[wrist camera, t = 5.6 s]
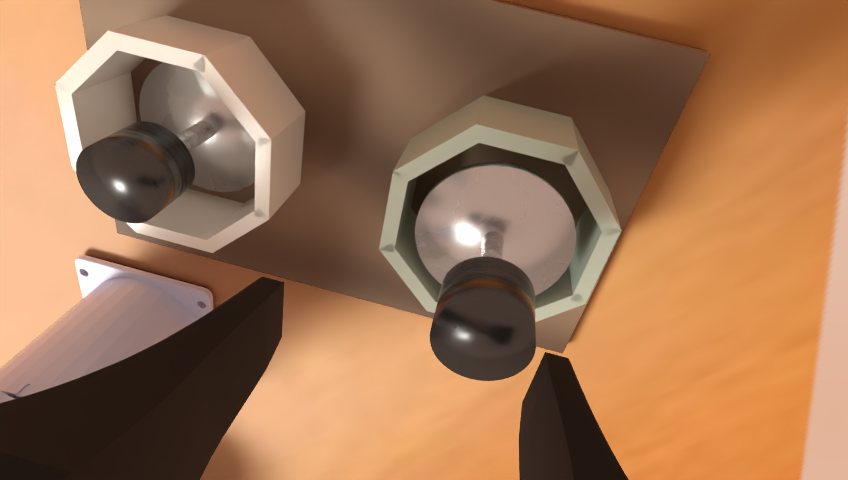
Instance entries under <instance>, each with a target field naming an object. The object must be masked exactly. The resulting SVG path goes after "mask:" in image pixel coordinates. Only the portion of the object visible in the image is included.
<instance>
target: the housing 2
mask: <svg viewBox="0 0 848 480" xmlns="http://www.w3.org/2000/svg"><path fill="white" fill-rule="evenodd" d="M477 143H482V144H486V145H490V146H494V147H498V148H502V149H506V150H510V151H513V152H517V153H521V154H525V155H529V156H533V157H537V158H541V159H545V160H549V161H553V162H556V163H560V164H564V165H565V166H566V168H567V169H568V171H569V173H570V175H571V177H572V178H573V180H574V182H575V184H576V186H577V188H578V189H579V191H580V193H581V195H582V197H583V198H584V200H585V202H586V206H585V208H584V211H583V213H582V215H581V217H580V220H579V222H578V224H577V227H576V229H575V230H576V245H575V250H574V254H573V257H572V260H571V262H570V264H569V266H568V268H567V269H566V271H565V272H564V273H563V275H562V276H561V277H560V278H559V279H558V280H557V281H556V282H555V283H554V284H553V285H552V286H550V287H549V288H548V289H546V290H545V291H543V292H541V293H540V294H538V295H535V322H537V321H540V320H543V319H545V318H548V317H551V316H554V315H556V314H559V313H562V312H565V311H567V310H570V309H573V308H576V307H579V306H581V305H584V304H586V302H587V300H588V298H589V296H590V294H591V292H592V290H593V288H594V286H595V284H596V281H597V279H598V277H599V275H600V273H601V271H602V269H603V267H604V265H605V263H606V261H607V259H608V257H609V255H610V253H611V251H612V249H613V247H614V245H615V243H616V241H617V239H618V237H619V235H620V233H621V231H622V230H621V227H620V224H619V220H618V217H617V214H616V211H615V207H614V204H613V201H612V197H611V194H610V191H609V188H608V187H607V185H606V183H605V181H604V179H603V177H602V175H601V173H600V171H599V169H598V167H597V166H596V164H595V162H594V160H593V158H592V156H591V154H590V152H589V150H588V148H587V147H586V145H585V143H584V141H583V139H582V137H581V135H580V133H579V131H578V129H577V127H576V126H575V124H574V122H573V120H572V118H571V117H568V116H564V115H560V114H556V113H552V112H548V111H544V110H540V109H536V108H532V107H528V106H524V105H520V104H516V103H512V102H508V101H504V100H500V99H496V98H492V97H488V96H484V95H483V96H482V97H480V98H478V99H477V100H475V101H473V102H471V103H470V104H468V105H466V106H465V107H463V108H461V109H460V110H458V111H456V112H455V113H453V114H451V115H449V116H448V117H446V118H444V119H443V120H441V121H439V122H438V123H436V124H434V125H433V126H431V127H429V128H427V129H426V130H424V131H422V132H421V133H419V134H417V135H416V136H414V137H412V138H411V139H410V141H409V143H408V145H407V146H406V148H405V150H404V152H403V154H402V156H401V157H400V159H399V161H398V163H397V165H396V167H395V168H394V170H393V174H392V180H391V185H390V191H389V196H388V202H387V208H386V213H385V219H384V224H383V230H382V235H381V241H380V246H379V250H380V251H381V252H382V254H383V255H384V256H385V258H386V259H387V260H388V261H389V263H390V264H391V265H392V267H393V268H394V269H395V271H396V272H397V273H398V274H399V276H400V277H401V278H402V280H403V281H404V282H405V284H406V285H407V286H408V287H409V289H410V290H411V291H412V293H413V294H414V295H415V297H416V298H417V299H418V300H419V302H420V303H421V304H422V306H423V307H424V308H425V309H426V311H429V312H433V313H435V310H436V306H437V302H438V298H439V293H440V289H441V285H442V284H440V283H439V282H438V281H437V280H436V279H435V278H434V277H433V276H432V275H431V274H430V272H429V271H428V270H427V268H426V267H425V265H424V264H423V262H422V260H421V258H420V256H419V253H418V250H417V247H416V241H415V225H416V219H417V215H416V214H415V213H414V211H413V210H412V208H411V206H412V201H413V196H414V191H415V187H416V182H417V177H418V176H419V175H421V174H423V173H425V172H426V171H428V170H430V169H432V168H434V167H435V166H437V165H439V164H441V163H443V162H445V161H446V160H448V159H450V158H452V157H454V156H455V155H457V154H459V153H461V152H463V151H465V150H466V149H468V148H470V147H472V146H474V145H476V144H477Z"/></svg>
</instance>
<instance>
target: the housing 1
mask: <svg viewBox="0 0 848 480" xmlns="http://www.w3.org/2000/svg"><path fill="white" fill-rule="evenodd" d="M145 58H150V59H153V60H157V61H161V62H165V63H169V64H173V65H177V66H181V67H185V68H189V69H193V70H196V71H199V72H200V74H201V75H202V76H203V77H204V79H205V80H206V81H207V82H208V84H209V85H210V86H211V87H212V89H213V90H214V91H215V92H216V94H217V95H218V96H219V97H220V99H221V100H222V101H223V102H224V104H225V105H226V106H227V107H228V108H229V110H230V111H231V112H232V113H233V115H234V116H235V117H236V118H237V120H238V121H239V122H240V123H241V125H242V126H243V127H244V128H245V130H246V131H247V132H248V133H249V135H250V136H251V137H252V138H253V140H254V141H255V142H256V143H255V197H253V198H252V199H250V200H248V201H247V202H245V203H241V202H237V201H233V200H229V199H226V198H222V197H218V196H214V195H211V194H207V193H203V192H199V191H195V190H192V189H188V190H187V191H186V192H185V193H183V194H182V195H181V196H179V197H178V198H177V199H176V200H174V201H173V202H172V203H171V204H169V205H168V206H167V207H165V208H164V209H163V210H162V211H160V212H159V213H158V214H157V215H155V216H154V217H153V218H151V219H150V220H148V221H146V222H143V223H127V224H128V225H129V226H130V227H131V228H132V229H133V230H134V231H135V232H136V233H140V234H143V235H147V236H151V237H154V238H158V239H162V240H166V241H169V242H173V243H177V244H180V245H184V246H188V247H192V248H195V249H199V250H203V251H206V252H210V253H214V252H215V251H217V250H219V249H220V248H222V247H224V246H225V245H227V244H229V243H230V242H232V241H234V240H236V239H237V238H239V237H241V236H242V235H244V234H246V233H247V232H249V231H251V230H252V229H254V228H256V227H257V226H259V225H261V224H262V223H264V222H266V221H268V220H269V219H270V218H271V217H272V216H273V215H274V213H275V212H276V211H277V210H278V209H279V208H280V206H281V205H282V204H283V203H284V202H285V201H286V200H287V198H288V197H289V196H290V195H291V194H292V193H293V192H294V190H295V189H296V188H297V187H298V186H299V185H300V184H301V183H300V182H301V167H302V153H303V139H304V124H305V110H304V108H303V107H302V106H301V104H300V103H299V102H298V100H297V99H296V98H295V96H294V95H293V94H292V92H291V91H290V90H289V88H288V87H287V86H286V84H285V83H284V82H283V80H282V79H281V78H280V76H279V75H278V73H277V72H276V71H275V69H274V68H273V67H272V65H271V64H270V63H269V61H268V60H267V59H266V57H265V56H264V55H263V53H262V52H261V51H260V49H259V48H258V47H257V45H256V44H255V43H254V41H253V40H252V38H251V37H250V36H246V35H242V34H238V33H234V32H230V31H226V30H222V29H218V28H214V27H210V26H206V25H202V24H198V23H194V22H190V21H186V20H183V19H179V18H175V17H171V16H167V15H166V16H162V17H159V18H155V19H151V20H147V21H143V22H139V23H135V24H131V25H127V26H123V27H119V28H116V29H112V30H108V31H107V32H106V33H105V34H104V35H103V36H102V37H101V38H100V39H99V40H98V41H97V42H96V43H95V44H94V45H93V46H92V47H91V48H90V49H89V50H88V51H87V52H86V53H85V54H84V55H83V56H82V57H81V58H80V59H79V60H78V61H77V62H76V63H75V64H74V65H73V66H72V67H71V68H70V69H69V70H68V71H67V72H66V73H65V74H64V75H63V76H62V77H61V78H60V79H59V80H58V81H57V82H56V83H55V86H56V91H57V96H58V101H59V106H60V111H61V116H62V121H63V125H64V130H65V135H66V140H67V145H68V150H69V155H70V159H71V164H72V168H73V169H74V170H75V171H76V162H77V158H78V156H79V154H80V152H81V151H82V150H83V149H84V148H86V147H87V146H89V145H91V144H93V143H95V142H97V141H99V140H101V139H103V138H105V137H107V136H109V135H111V134H113V133H115V132H117V131H119V130H121V129H123V128H125V127H127V126H129V125H131V124H133V123H136V122H137V119H136V110H135V102H134V94H133V86H132V77H131V71H132V70H133V69H135V68H136V67H137V66H138V65H139V64H140V63H141V62H142V61H143V60H144V59H145Z"/></svg>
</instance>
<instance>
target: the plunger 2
mask: <svg viewBox="0 0 848 480" xmlns="http://www.w3.org/2000/svg"><path fill="white" fill-rule="evenodd" d="M415 241H416V247H417V250H418V253H419V256H420V258H421V260H422V262H423V264H424V265H425V267H426V268H427V270H428V271H429V272H430V274H431V275H432V276H433V277H434V278H435V279H436V280H437V281H438V282H439V283H440V284H442V285H441V289H440V293H439V298H438V302H437V306H436V310H435V314H434V318H433V323H432V327H431V331H430V343H431V347H432V350H433V352H434V354H435V355H436V357H437V358H438V359H439V360H440V362H441V363H442V364H443V365H445V366H446V367H447V368H448V369H450V370H451V371H453V372H455V373H457V374H459V375H461V376H464V377H467V378H470V379H475V380H482V381H494V380H501V379H505V378H509V377H511V376H514V375H516V374H518V373H519V372H521V371H522V370H523V369H525V368H526V367H527V366H528V364H529V363H530V362H531V360H532V358H533V356H534V354H535V349H536V328H535V295H538V294H540V293H541V292H543V291H545V290H546V289H548V288H549V287H550V286H552V285H553V284H554V283H555V282H556V281H557V280H558V279H559V278H560V277H561V276H562V275H563V273H564V272H565V271H566V269H567V268H568V266H569V264H570V262H571V260H572V257H573V254H574V250H575V245H576V230H575V223H574V218H573V214H572V211H571V209H570V207H569V204H568V202H567V201H566V199H565V198H564V196H563V195H562V193H561V192H560V191H559V190H558V189H557V188H556V187H555V185H553V184H552V183H551V182H550V181H549V180H547V179H546V178H545V177H543V176H541V175H540V174H538V173H536V172H534V171H532V170H530V169H528V168H525V167H522V166H519V165H515V164H510V163H503V162H484V163H478V164H472V165H469V166H466V167H462V168H460V169H458V170H456V171H454V172H452V173H450V174H448V175H447V176H445V177H444V178H442V179H441V180H440V181H439V182H438V183H436V185H435V186H434V187H433V188H432V189H431V190H430V191H429V193H428V194H427V196H426V197H425V199H424V201H423V203H422V205H421V207H420V210H419V213H418V216H417V219H416V225H415Z"/></svg>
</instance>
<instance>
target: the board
mask: <svg viewBox="0 0 848 480" xmlns="http://www.w3.org/2000/svg"><path fill="white" fill-rule="evenodd" d="M79 2H80V9H81V15H82V21H83V27H84V33H85V39H86V45H87V51H88V50H89V49H90V48H91V47H92V46H93V45H94V44H95V43H96V42H97V41H98V40H99V39H100V38H101V37H102V36H103V35H104V34H105V33H106V32H107V31H108V30H112V29H116V28H119V27H123V26H127V25H131V24H135V23H139V22H143V21H147V20H151V19H155V18H159V17H162V16H166V15H167V16H171V17H175V18H179V19H183V20H186V21H190V22H194V23H198V24H202V25H206V26H210V27H214V28H218V29H222V30H226V31H230V32H234V33H238V34H242V35H246V36H250V37H251V38H252V40H253V41H254V43H255V44H256V45H257V47H258V48H259V49H260V51H261V52H262V53H263V55H264V56H265V57H266V59H267V60H268V61H269V63H270V64H271V65H272V67H273V68H274V69H275V71H276V72H277V73H278V75H279V76H280V78H281V79H282V80H283V82H284V83H285V84H286V86H287V87H288V88H289V90H290V91H291V92H292V94H293V95H294V96H295V98H296V99H297V100H298V102H299V103H300V104H301V106H302V107H303V108H304V110H305V124H304V139H303V153H302V167H301V182H300V183H301V184H300V185H299V186H298V187H297V188H296V189H295V190H294V192H293V193H292V194H291V195H290V196H289V197H288V198H287V200H286V201H285V202H284V203H283V204H282V205H281V206H280V208H279V209H278V210H277V211H276V212H275V213H274V215H273V216H272V217H271V218H270V219H269V220H268V221H266V222H264V223H262V224H261V225H259V226H257V227H256V228H254V229H252V230H251V231H249V232H247V233H246V234H244V235H242V236H241V237H239V238H237V239H236V240H234V241H232V242H230V243H229V244H227V245H225V246H224V247H222V248H220V249H219V250H217V251H215V252H214V253H210V252H206V251H203V250H199V249H195V248H192V247H188V246H184V245H180V244H177V243H173V242H169V241H166V240H162V239H158V238H154V237H151V236H147V235H143V234H140V233H136V232H135V231H134V230H133V229H132V228H131V227H130V226H129V225H128V224H127V223H126V222H122V221H119V220H117V219H115V222H116V228H117V233H119V234H123V235H126V236H130V237H134V238H137V239H141V240H145V241H148V242H152V243H156V244H160V245H163V246H167V247H171V248H174V249H178V250H182V251H185V252H189V253H193V254H197V255H200V256H204V257H208V258H211V259H215V260H219V261H222V262H226V263H230V264H234V265H237V266H241V267H245V268H248V269H252V270H256V271H259V272H263V273H267V274H271V275H274V276H278V277H282V278H285V279H289V280H293V281H296V282H300V283H304V284H308V285H311V286H315V287H319V288H322V289H326V290H330V291H333V292H337V293H341V294H345V295H348V296H352V297H356V298H359V299H363V300H367V301H370V302H374V303H378V304H382V305H385V306H389V307H393V308H396V309H400V310H404V311H407V312H411V313H415V314H419V315H422V316H426V317H430V318H434V314H435V313H433V312H429V311H426V309H425V308H424V307H423V306H422V304H421V303H420V302H419V300H418V299H417V298H416V297H415V295H414V294H413V293H412V291H411V290H410V289H409V287H408V286H407V285H406V284H405V282H404V281H403V280H402V278H401V277H400V276H399V274H398V273H397V272H396V271H395V269H394V268H393V267H392V265H391V264H390V263H389V261H388V260H387V259H386V258H385V256H384V255H383V254H382V252H381V251H380V250H379V246H380V241H381V235H382V230H383V224H384V219H385V213H386V208H387V202H388V196H389V191H390V185H391V180H392V174H393V170H394V168H395V167H396V165H397V163H398V161H399V159H400V157H401V156H402V154H403V152H404V150H405V148H406V146H407V145H408V143H409V141H410V139H411V138H412V137H414V136H416V135H417V134H419V133H421V132H422V131H424V130H426V129H427V128H429V127H431V126H433V125H434V124H436V123H438V122H439V121H441V120H443V119H444V118H446V117H448V116H449V115H451V114H453V113H455V112H456V111H458V110H460V109H461V108H463V107H465V106H466V105H468V104H470V103H471V102H473V101H475V100H477V99H478V98H480V97H482V96H483V95H484V96H488V97H492V98H496V99H500V100H504V101H508V102H512V103H516V104H520V105H524V106H528V107H532V108H536V109H540V110H544V111H548V112H552V113H556V114H560V115H564V116H568V117H571V118H572V120H573V122H574V124H575V126H576V127H577V129H578V131H579V133H580V135H581V137H582V139H583V141H584V143H585V145H586V147H587V148H588V150H589V152H590V154H591V156H592V158H593V160H594V162H595V164H596V166H597V167H598V169H599V171H600V173H601V175H602V177H603V179H604V181H605V183H606V185H607V187H608V188H609V191H610V194H611V197H612V201H613V204H614V207H615V211H616V214H617V217H618V220H619V224H620V227H621V230H622V231H621V233H620V235H619V237H618V239H617V241H616V243H615V245H614V247H613V249H612V251H611V253H610V255H609V257H608V259H607V261H606V263H605V265H604V267H603V269H602V271H601V273H600V275H599V277H598V279H597V281H596V284H595V286H594V288H593V290H592V292H591V294H590V296H589V298H588V300H587V302H586V304H584V305H581V306H579V307H576V308H573V309H570V310H567V311H565V312H562V313H559V314H556V315H554V316H551V317H548V318H545V319H543V320H540V321H537V322H535V328H536V346H537V347H541V348H544V349H548V350H552V351H556V352H559V353H563V352H564V350H565V348H566V346H567V344H568V341H569V339H570V337H571V335H572V333H573V331H574V329H575V327H576V325H577V323H578V321H579V319H580V317H581V315H582V313H583V311H584V309H585V307H586V305H587V303H588V301H589V299H590V297H591V295H592V293H593V291H594V289H595V287H596V285H597V283H598V281H599V279H600V277H601V275H602V273H603V271H604V269H605V266H606V264H607V262H608V260H609V258H610V256H611V254H612V252H613V250H614V248H615V246H616V244H617V242H618V240H619V238H620V236H621V234H622V232H623V230H624V228H625V226H626V224H627V222H628V220H629V218H630V216H631V214H632V212H633V210H634V208H635V206H636V204H637V202H638V200H639V198H640V196H641V194H642V192H643V189H644V187H645V185H646V183H647V181H648V179H649V177H650V175H651V173H652V171H653V169H654V167H655V165H656V163H657V161H658V159H659V157H660V155H661V153H662V151H663V149H664V147H665V145H666V143H667V141H668V139H669V137H670V135H671V133H672V131H673V129H674V127H675V125H676V123H677V121H678V119H679V117H680V114H681V112H682V110H683V108H684V106H685V104H686V102H687V100H688V98H689V96H690V94H691V92H692V90H693V88H694V86H695V84H696V82H697V80H698V78H699V76H700V74H701V72H702V70H703V68H704V66H705V64H706V62H707V60H708V58H709V56H710V54H709V53H708V52H707V51H705V50H701V49H697V48H693V47H689V46H685V45H681V44H677V43H672V42H668V41H664V40H660V39H656V38H652V37H648V36H644V35H640V34H636V33H631V32H627V31H623V30H619V29H615V28H611V27H607V26H603V25H599V24H595V23H590V22H586V21H582V20H578V19H574V18H570V17H566V16H562V15H558V14H554V13H550V12H545V11H541V10H537V9H533V8H529V7H525V6H521V5H517V4H513V3H509V2H504V1H500V0H79ZM162 63H164V62H161V61H157V60H153V59H150V58H145V59H144V60H143V61H142V62H141V63H140V64H139V65H138V66H137V67H136V68H135V69H133V70H132V71H131V77H132V86H133V94H134V102H135V110H136V119H137V122H141V117H140V110H139V100H140V93H141V89H142V86H143V84H144V81H145V80H146V78H147V76H148V75H149V74H150V73H151V71H152V70H153V69H154V68H156V67H157V66H158V65H160V64H162ZM484 162H503V163H510V164H515V165H519V166H522V167H525V168H528V169H530V170H532V171H534V172H536V173H538V174H540V175H541V176H543V177H545V178H546V179H547V180H549V181H550V182H551V183H552V184H553V185H555V187H556V188H557V189H558V190H559V191H560V192H561V193H562V195H563V196H564V198H565V199H566V201H567V202H568V204H569V207H570V209H571V211H572V214H573V218H574V223H575V229H576V227H577V224H578V222H579V220H580V217H581V215H582V213H583V211H584V208H585V206H586V202H585V200H584V198H583V197H582V195H581V193H580V191H579V189H578V188H577V186H576V184H575V182H574V180H573V178H572V177H571V175H570V173H569V171H568V169H567V168H566V166H565V165H564V164H560V163H556V162H553V161H549V160H545V159H541V158H537V157H533V156H529V155H525V154H521V153H517V152H513V151H510V150H506V149H502V148H498V147H494V146H490V145H486V144H482V143H477V144H476V145H474V146H472V147H470V148H468V149H466V150H465V151H463V152H461V153H459V154H457V155H455V156H454V157H452V158H450V159H448V160H446V161H445V162H443V163H441V164H439V165H437V166H435V167H434V168H432V169H430V170H428V171H426V172H425V173H423V174H421V175H419V176H418V177H417V182H416V187H415V191H414V196H413V201H412V206H411V208H412V210H413V211H414V213H415V214H416V215H417V216H418V213H419V210H420V207H421V205H422V203H423V201H424V199H425V197H426V196H427V194H428V193H429V191H430V190H431V189H432V188H433V187H434V186H435V185H436V183H438V182H439V181H440V180H441V179H442V178H444V177H445V176H447V175H448V174H450V173H452V172H454V171H456V170H458V169H460V168H462V167H466V166H469V165H472V164H478V163H484ZM189 189H192V190H195V191H199V192H203V193H207V194H211V195H214V196H218V197H222V198H226V199H229V200H233V201H237V202H241V203H245V202H247V201H248V200H250V199H252V198H253V197H255V182H254V183H253V184H252V185H250V186H248V187H246V188H244V189H241V190H238V191H232V192H217V191H211V190H207V189H204V188H201V187H198V186H196V185H194V184H192V185H191V187H190V188H189Z"/></svg>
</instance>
